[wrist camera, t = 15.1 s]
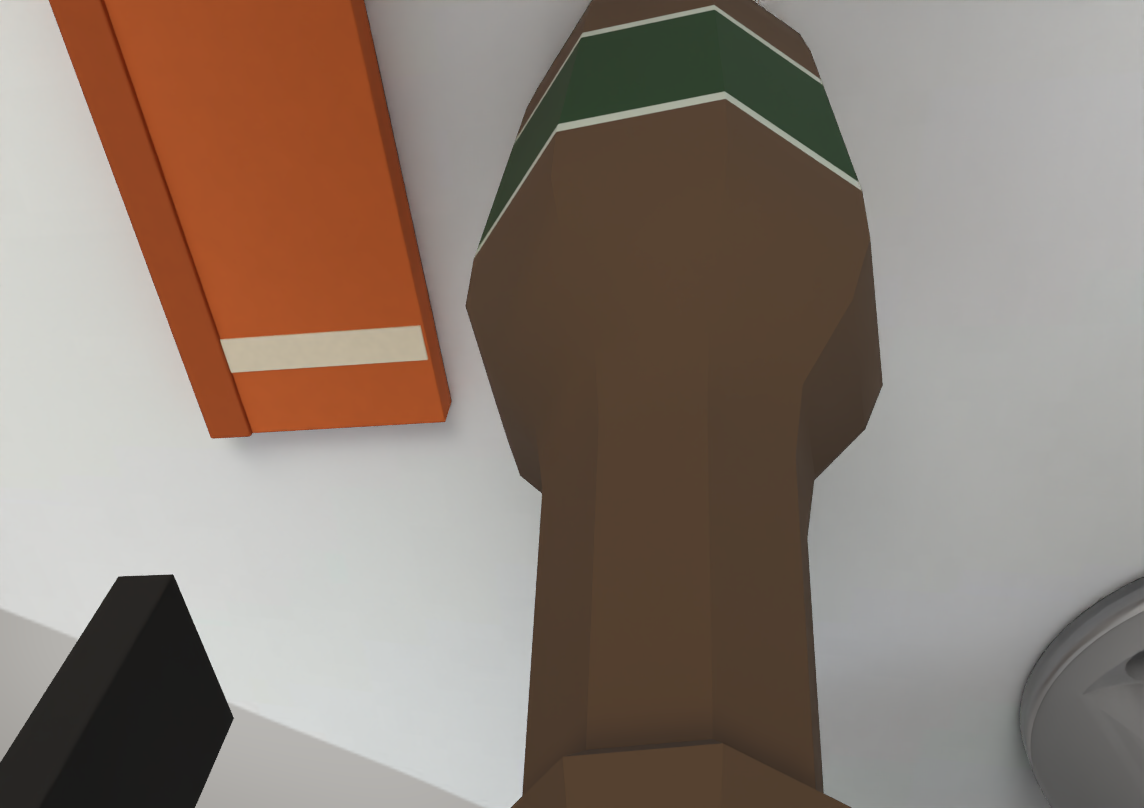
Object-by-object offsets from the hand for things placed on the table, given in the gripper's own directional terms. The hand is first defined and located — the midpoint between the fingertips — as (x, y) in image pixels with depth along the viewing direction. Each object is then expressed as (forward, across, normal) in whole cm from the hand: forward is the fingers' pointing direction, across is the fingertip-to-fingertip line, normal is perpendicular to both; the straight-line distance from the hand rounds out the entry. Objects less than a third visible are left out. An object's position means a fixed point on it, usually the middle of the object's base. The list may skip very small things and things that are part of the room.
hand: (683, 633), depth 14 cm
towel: (+19, +12, -1) cm, 23 cm away
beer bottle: (+20, 0, 0) cm, 20 cm away
